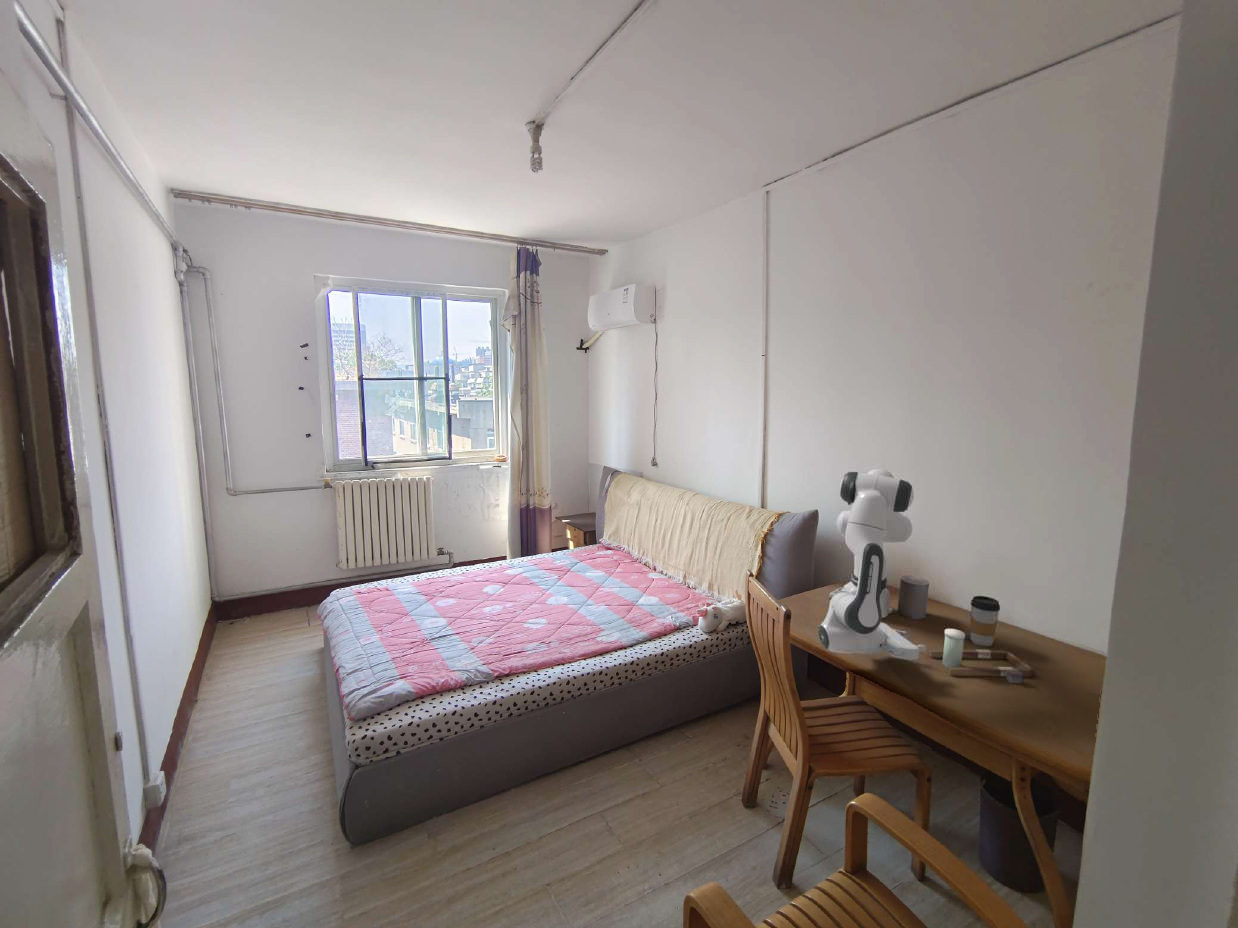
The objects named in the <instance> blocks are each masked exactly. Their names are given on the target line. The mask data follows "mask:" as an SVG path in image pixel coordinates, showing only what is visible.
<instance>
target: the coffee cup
mask: <svg viewBox="0 0 1238 928" xmlns="http://www.w3.org/2000/svg"><path fill="white" fill-rule="evenodd" d="M970 606H971V607H970V630H969V632H970V640H971V642H972V643H973V644H975V645H978V646H982V647H991V646H992V645H993V643H994V638H995V635H996V629H997V624H998V617H999V613H1000V610H1001V605H1000V601H999V600H997V599H995V598H993V597H989V596H983V595H975V596H972V599H971V601H970Z"/></svg>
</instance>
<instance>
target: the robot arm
mask: <svg viewBox="0 0 1238 928" xmlns="http://www.w3.org/2000/svg"><path fill="white" fill-rule="evenodd" d="M838 488H839V495H840V498H841V499H842V500H843V501H844V502H845V503H847V505H848V506H851V505H852V506H851V508H850V509H849V510H843V511H841V512H840V513H839V514H838V516H837V517H836V523H835V524H836V529H837V531H838V533H839V534H840V535H841V536H842V537H843V538H844V539H845V544H846V546H847V548H848V549H849V551H850V552H851V553H852V554H853V555H854V556H853V560H854V563H853V564H854V568H853V571H852V575H851V579H850V581H849V582H847V583H846V584H844V585H843V588H841V589H840V592H837V593H835V594H834V595H833V596H832V597H831V598H830V600H829V603H828V610H827V614H826V616H825V618H824V620H823V621H822V622H821V624H819V626H818V638H819V641H820V644H821V645H822V647H824V648H825V649H826V650H827V651H828V652H833V653H839V654H855V653H857V654H862V655H873V656H874V655H876V656H877V655H878V656H879V655H881V654H883V653H884V652H886V653H887V654H888V655H889V656H891V657H892V658H895V659H899V660H900V659H901V660H908V661H917V660H919V656H920V653H921V652H922V653H923V652H925V653H926V651H927V647H928V646H926V645H925V644H923V643H918V644H917V645H916V644H914V643H912V642H911V641H910V640H908V639H909V632H906V631H905V630H904V631H901V630H898V629H894V628H892V627H890V626H889V625H888V624H887V623H884V622H882V619H883V618H886V617H888V615H889V614H892V613H893V608H891V607H890V591H889V589H887V586H888V585H887V584H888V578H887V569H888V567H887V566H888V558H887V557H886V555H885V553H884V543H892V544H893V543H894V544H895V543H902V542H903V543H905V542H906V541H908V540H909V538H910V537H911V536H912V534H913V525H912V524H913V523H912V522H911V520H910V518H908V516H907V515H904V514H902V513H904V512H905V511H907V510H908V508H910V506H911V505H912V503H913V501H914V497H915V496H914V494H915V493H914V490H913V486H912V484H911V483H910V482H909V481H907V480H903V479H898V478H895V477H894V474H892V473H891V472H890V471H888V470H887V469H885V468H874V469H871V470H869V471H868V472H867V473H866V472H865V473H864V472H862V473H861V472H858V471H849V472H846V473H845V474H844V475H843V477H842V478H841V480H840V483H839V486H838Z"/></svg>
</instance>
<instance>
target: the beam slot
mask: <svg viewBox="0 0 1238 928" xmlns="http://www.w3.org/2000/svg"><path fill="white" fill-rule="evenodd" d="M943 652H944V649H928V651H927V653H928V654H927V656H928V657H930V658H931V659H932V658H933V659H934V658H935V659H940V658H941V659H943ZM962 659H1005V660H1007V661H1008V662H1010V663H1011V664H1013V665H1014V667H1012V666H998V667H997V666H995V667H994V666H993V667H992V666H989V667H988V666H961V667H948V668H947V672H946V673H947V675H949V676H951V677H952V676H958V677H959V676H962V677H963V676H965V677H966V676H967V677H1005V680H1006V681H1008V682H1009V683H1010V684H1022V682H1023V681H1022V679H1023V677H1035V674H1036V673H1035V672H1036V670H1035V669H1034V668H1032V667H1031V666H1029V665H1028V664H1027V663H1026V662H1024V661H1023V660H1021V659H1020V658H1018V657H1017V656H1015V655H1014V654H1013V653H1011V652H1010V651H1009V650H1007V649H1006V650H1005V649H1003V650H1002V649H1001V650H1000V649H999V650H998V649H995V650H994V649H963V652H962ZM1015 666H1016V667H1015Z"/></svg>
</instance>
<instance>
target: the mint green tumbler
mask: <svg viewBox="0 0 1238 928" xmlns="http://www.w3.org/2000/svg"><path fill="white" fill-rule="evenodd" d="M965 639H966V634H965V632H963V631H962V630H959V629H956V628H946V629H944V644H943V650H944V652H943V658H942V661H941V662H942V665H943V666H944V667H945V668H947V669H948V667H962V660H963V658H962V652H963V650H964V643H965V642H964V641H965Z"/></svg>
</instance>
